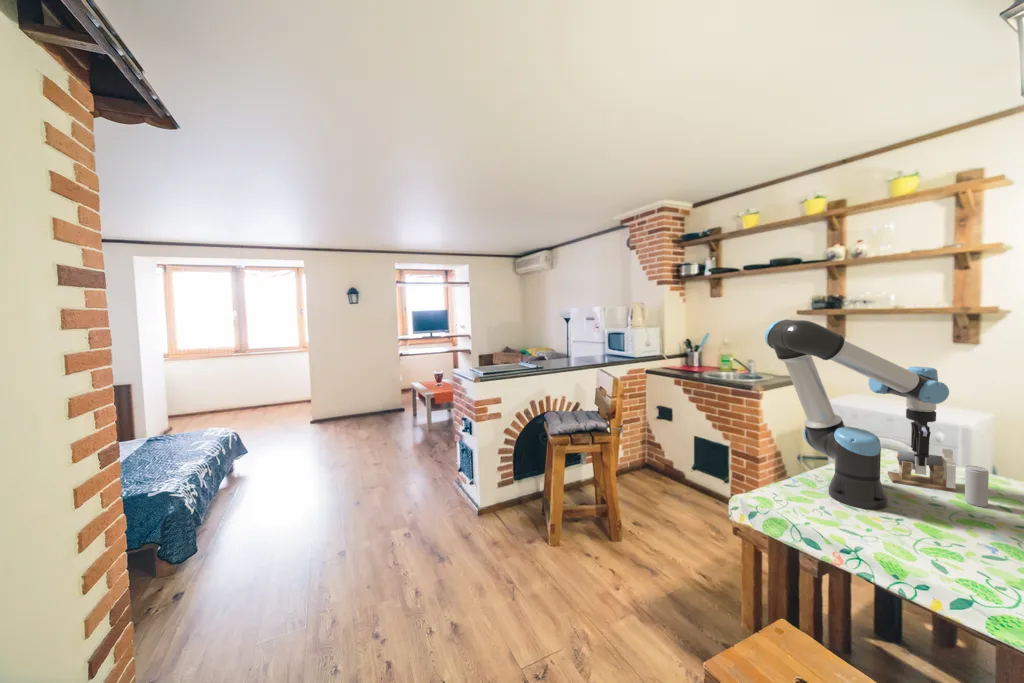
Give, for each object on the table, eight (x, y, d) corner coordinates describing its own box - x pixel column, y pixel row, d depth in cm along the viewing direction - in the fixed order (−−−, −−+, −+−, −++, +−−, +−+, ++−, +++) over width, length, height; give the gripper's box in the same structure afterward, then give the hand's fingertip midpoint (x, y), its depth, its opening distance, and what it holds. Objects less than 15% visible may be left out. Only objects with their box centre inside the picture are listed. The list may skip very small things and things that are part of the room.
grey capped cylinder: (897, 462, 143) (898, 452, 143) (895, 459, 146) (895, 449, 146) (944, 469, 136) (944, 458, 136) (940, 465, 139) (941, 454, 139)
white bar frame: (946, 487, 135) (947, 453, 134) (939, 478, 142) (939, 445, 141) (955, 488, 133) (956, 454, 133) (947, 479, 140) (947, 446, 140)
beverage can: (992, 507, 122) (993, 471, 122) (974, 507, 123) (975, 470, 123) (977, 500, 127) (978, 465, 126) (960, 500, 128) (960, 465, 127)
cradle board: (892, 482, 143) (892, 461, 142) (887, 473, 150) (887, 453, 149) (956, 492, 133) (957, 469, 133) (948, 482, 140) (948, 461, 140)
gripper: (943, 415, 131) (940, 482, 132) (929, 405, 145) (927, 466, 146) (912, 413, 135) (909, 477, 137) (901, 403, 149) (899, 462, 150)
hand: (918, 471), depth 141 cm, fingers closed on grey capped cylinder, 4 cm apart
